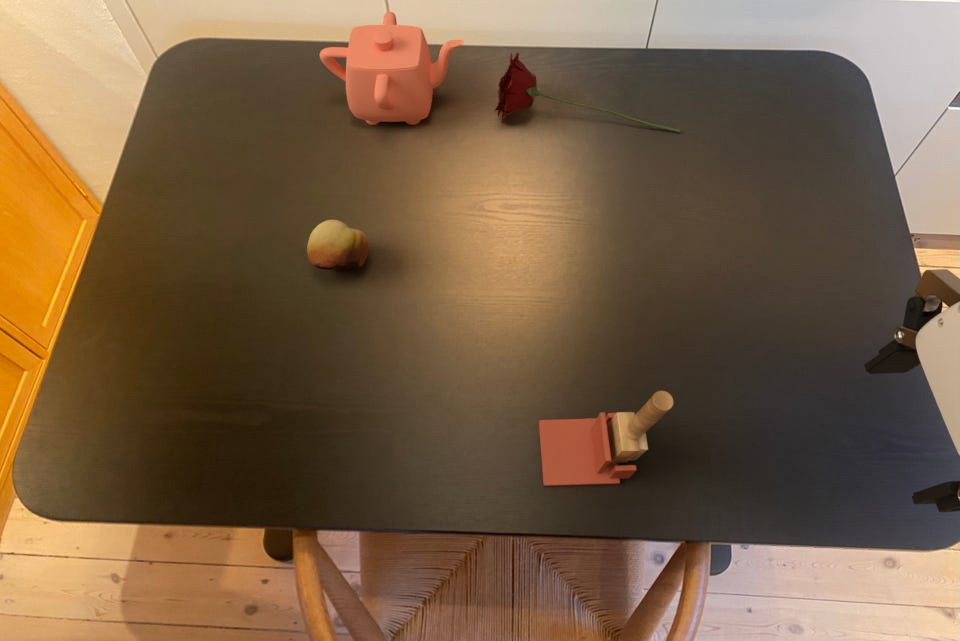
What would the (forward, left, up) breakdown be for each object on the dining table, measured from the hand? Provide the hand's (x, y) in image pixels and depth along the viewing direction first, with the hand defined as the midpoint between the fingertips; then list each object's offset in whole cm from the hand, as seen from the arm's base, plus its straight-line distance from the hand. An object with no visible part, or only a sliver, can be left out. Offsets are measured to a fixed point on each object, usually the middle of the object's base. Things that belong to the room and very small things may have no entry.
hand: (907, 430), depth 44 cm
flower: (+61, +12, -30) cm, 69 cm away
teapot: (+66, +43, -30) cm, 84 cm away
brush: (+7, +13, -19) cm, 24 cm away
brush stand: (+7, +19, -30) cm, 36 cm away
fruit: (+35, +50, -30) cm, 68 cm away
